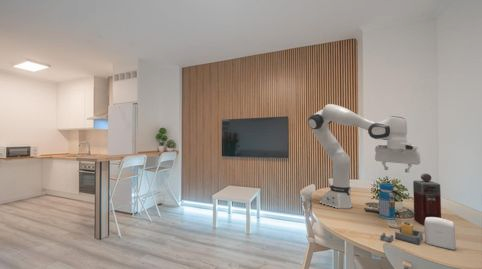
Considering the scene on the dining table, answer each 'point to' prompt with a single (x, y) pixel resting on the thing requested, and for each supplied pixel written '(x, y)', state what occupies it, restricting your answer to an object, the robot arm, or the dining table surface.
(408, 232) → the block
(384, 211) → the beverage bottle
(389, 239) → the clip
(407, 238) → the end holder
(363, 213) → the dining table surface
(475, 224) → the dining table surface
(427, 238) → the photo printer
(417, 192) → the dark red decanter
